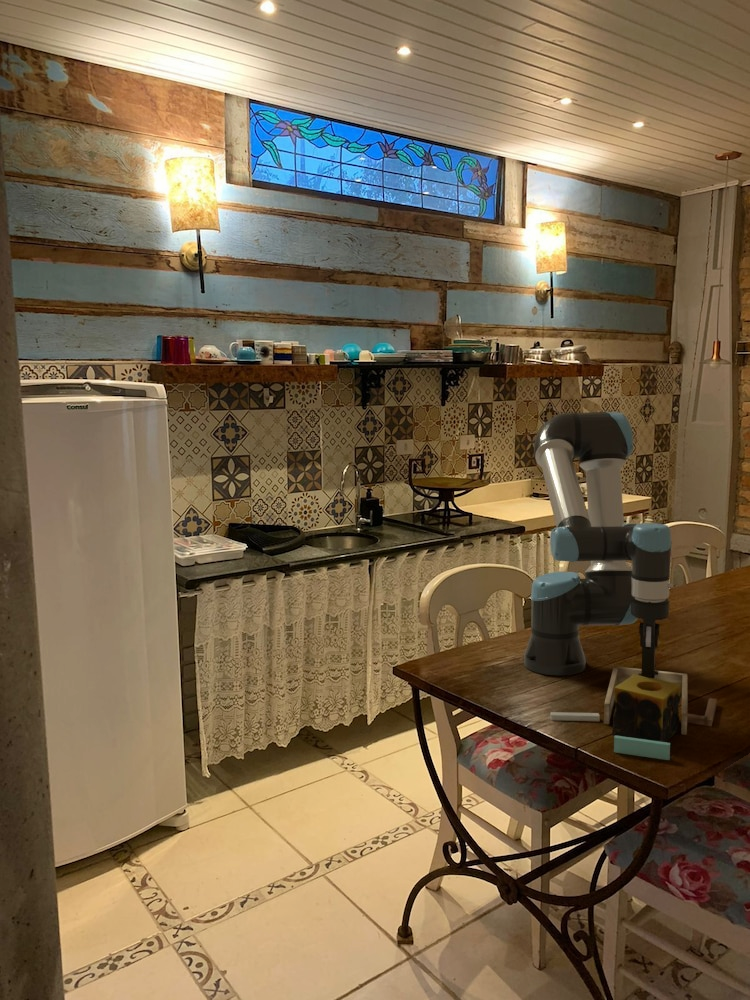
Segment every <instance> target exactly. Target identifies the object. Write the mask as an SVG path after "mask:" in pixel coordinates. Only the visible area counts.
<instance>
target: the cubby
mask: <svg viewBox="0 0 750 1000" xmlns="http://www.w3.org/2000/svg"><path fill="white" fill-rule="evenodd" d="M657 671H658V675H655V679H658V680H663V681H667V682H671V683H676V684H679V685H681V691H680V695H681V723H680V724H681V725H680V726H681V727H680V728H681V729H680V731H681V732H680V733H681V735H686V736H687V734H688V722H687V714H688V673H681V672H672V671H663V670H657ZM638 673H640V674H641V673H642V668H636V667H634V668H633V667H628V666H627V667H626V666H625V667H624V666H613V668H612V672H611V677H610V679H609V684H608V688H607V692H606V695H605V701H604V706H603V707H604V708H603V710H604V711H603V713H604V714H603V725H610V722H611V717H612V712H613V709H614V708H613V707H614V704H615V692H614V688H615V686H617V685H619V684H620V683H622V682H624V681H625V680H626V679H628V678H630V677H631V676H632V675H633V674H636V675H638Z"/></svg>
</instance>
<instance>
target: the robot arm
mask: <svg viewBox="0 0 750 1000" xmlns="http://www.w3.org/2000/svg"><path fill="white" fill-rule="evenodd" d="M533 444H534V445H533V453H534V454H533V455H534V458H535V462H536V463H537V465H538V466H539V467H540V468H541V471H542V474H543V477H544V482H545V486H546V489H547V494H548V497H549V502H550V507H551V510H552V514H553V518H554V522H555V526H556V527H554V528H553V529H551V531H550V535H549V536H550V538H549V544H550V545H549V546H550V553H551V556H552V558H553V559H554V560H555V561H557V562H558V561H559V562H569V563H571V562H572V563H574V562H575V563H576V562H590V565H589V566H588V568H587V569H585V572H584V578H581V576H580V575H579V573H576V572H574V571H554V572H549V573H543V574H541V575H539V576H537V577H536V578H534V580H533V581H532V584H531V594H530V599H531V603H530V604H531V615H530V617H531V619H530V620H531V622H530V624H531V625H530V626H531V627H530V628H531V629H530V631H531V632H530V633H531V634H530V636H529V639H528V643H527V646H526V648H525V650H524V655H523V665H524V667H525V668H527V670H529V671H532V672H534V673H537V674H541V675H546V676H547V675H548V676H558V677H559V676H561V677H562V676H572V675H578V674H579V673H581V672H583V671H585V669H586V655H585V653H584V652H585V651H584V650H583V647H582V643H581V641H580V637H579V636H580V633H579V632H580V631H579V630H580V629H579V628H580V626H623V625H632V624H634V623H635V622H636V621H637V620H638V619H641V620H642V621H641V622H640V621H639V627H638V633H639V635H640V636H639V637H640V639H639V645H640V647H641V669H642V673H641V674H640V673H638V675H640V676H644V677H648V678H653V679H655V675H658V671H659V670H656V648H658V646H659V645H658V642H659V641H658V640H659V635H660V623H657V622H656V621H663V620H665V619H667V618H668V617H669V615H670V600H669V599H668V598H669V597H670V589H672V588H673V586H674V585H673V583H671V582H670V580H671V576H670V575H671V560H672V559H671V555H672V544H673V543H672V542H673V541H672V533H671V532H672V530H671V528H670V527H669V526H668V525H667V524H661V523H658V522H657V523H655V522H641V523H631V522H629V523H627V522H626V523H625V522H624V520H625V519H624V505H623V491H622V490H623V489H622V474H621V473H622V471H621V470H622V468H623V467H624V466H625V465H626V464H627V458H629V457H630V456H631V455H632V454H633V450H634V434H633V430H632V426H631V424H630V421H629V419H628V418H627V416H626V415H625V414H623V413H621V412H612V411H611V412H610V411H607V410H606V411H596V412H595V411H594V412H563V413H559V414H556V415H555V416H552V417H551V418H549V419H548V420H547V421H546V422H544V423H543V425H542V426H541V427H540V429H539V431H538V432H537V434H536V437H535V439H534V443H533ZM573 459H578V466H579V467H580V468H581V469H582V470H583V471H584V472H585V479H586V482H585V484H586V497H587V498H586V499H587V500H586V502H587V506H586V502H585V499H584V495H583V492H582V490H581V485H580V482H579V479H578V474H577V472H576V468H575V463H574V462H573ZM627 561H631V567H630V566H629V565H628V563H627Z"/></svg>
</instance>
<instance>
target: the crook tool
mask: <svg viewBox="0 0 750 1000" xmlns="http://www.w3.org/2000/svg"><path fill="white" fill-rule="evenodd" d="M717 702H718V699H717V698H713V697H711V698H709V699H708V702H707V705H706V706H707V707H706V709H705V713H704V715H699V714H695V713H694V714H693V713H689V712H687V724H694V725H702V726H706V727H707V726H708V727H712V724H713V722H714V717H715V714H716V710H717V705H718V703H717Z"/></svg>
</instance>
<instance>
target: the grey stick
mask: <svg viewBox="0 0 750 1000" xmlns="http://www.w3.org/2000/svg"><path fill="white" fill-rule="evenodd" d="M549 716H550V717H549V718H550V720H551V721H568V722H569V721H574V722H576V721H577V722H600V718H601V716H600V714H599V712H567V711H566V712H561V711H560V712H559V711H558V712H557V711H551V712H550V714H549Z"/></svg>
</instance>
